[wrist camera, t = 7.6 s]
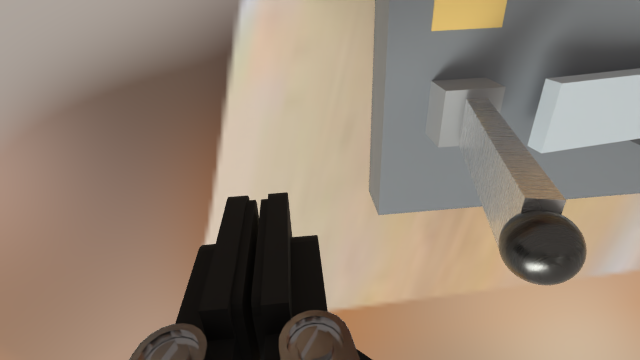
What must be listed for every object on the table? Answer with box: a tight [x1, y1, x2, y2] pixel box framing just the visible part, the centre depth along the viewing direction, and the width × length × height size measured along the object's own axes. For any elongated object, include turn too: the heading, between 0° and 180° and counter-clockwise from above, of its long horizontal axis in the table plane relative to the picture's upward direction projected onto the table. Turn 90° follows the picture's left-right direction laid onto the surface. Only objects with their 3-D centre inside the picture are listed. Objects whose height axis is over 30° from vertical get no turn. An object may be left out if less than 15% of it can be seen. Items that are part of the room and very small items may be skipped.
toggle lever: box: [458, 98, 586, 285], centre depth 13 cm, size 2×2×10 cm
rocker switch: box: [527, 68, 640, 153], centre depth 18 cm, size 7×4×1 cm, turn 92°
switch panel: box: [369, 0, 640, 215], centre depth 21 cm, size 26×14×6 cm, turn 92°
